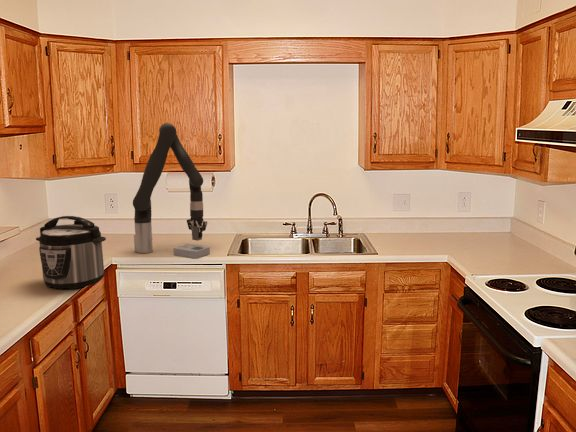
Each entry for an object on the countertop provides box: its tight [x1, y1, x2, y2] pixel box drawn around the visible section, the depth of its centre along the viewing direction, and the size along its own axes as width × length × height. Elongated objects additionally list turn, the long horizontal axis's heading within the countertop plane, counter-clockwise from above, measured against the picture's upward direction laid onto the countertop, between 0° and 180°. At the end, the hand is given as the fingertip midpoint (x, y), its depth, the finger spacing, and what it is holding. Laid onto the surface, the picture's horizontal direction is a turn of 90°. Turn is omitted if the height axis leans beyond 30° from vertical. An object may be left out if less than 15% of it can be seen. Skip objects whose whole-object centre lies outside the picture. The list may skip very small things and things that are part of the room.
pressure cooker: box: [35, 215, 107, 290], centre depth 263 cm, size 30×28×32 cm
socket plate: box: [173, 243, 211, 260], centre depth 315 cm, size 16×12×4 cm
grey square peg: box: [191, 226, 203, 241], centre depth 327 cm, size 4×4×8 cm
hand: (197, 237), depth 328 cm, fingers closed on grey square peg, 4 cm apart
